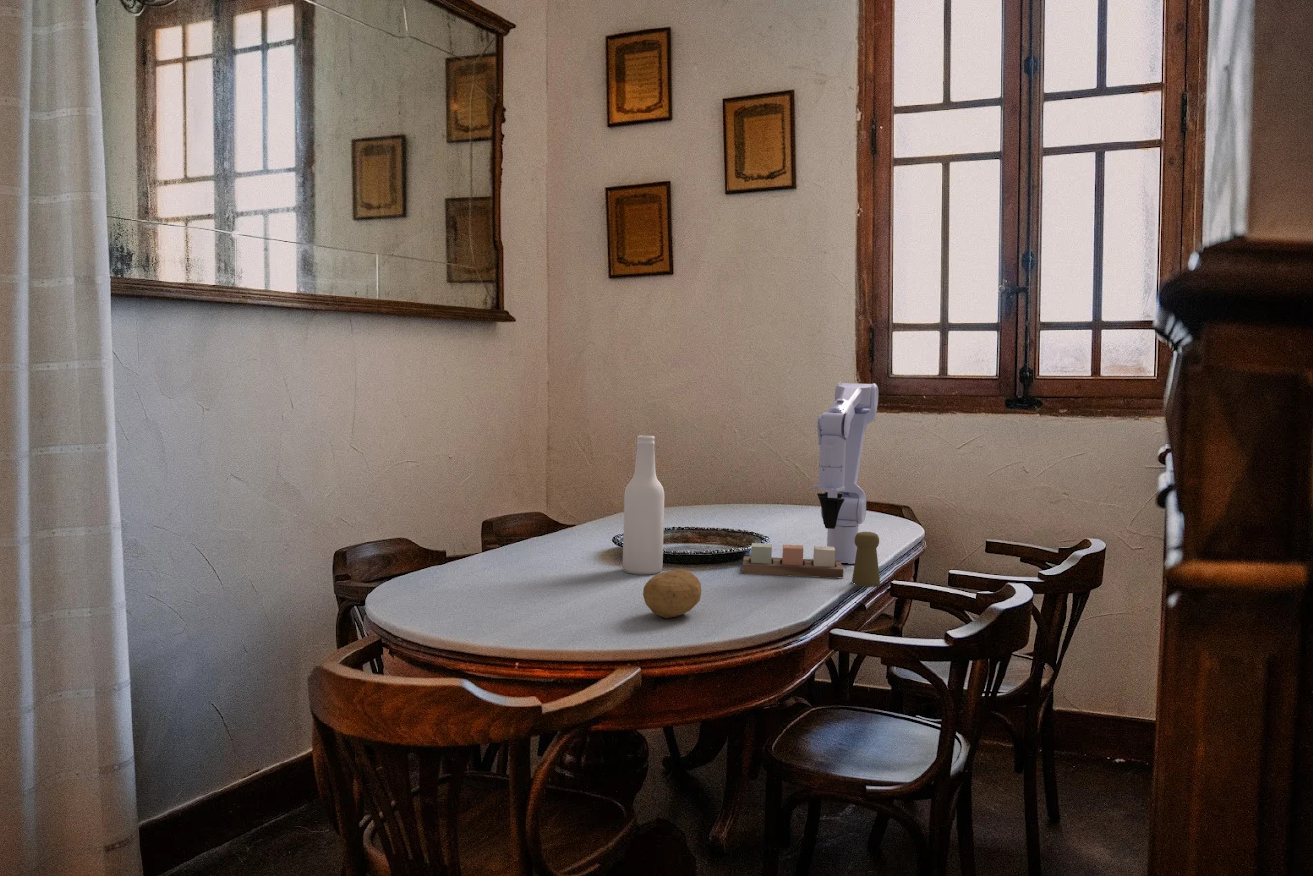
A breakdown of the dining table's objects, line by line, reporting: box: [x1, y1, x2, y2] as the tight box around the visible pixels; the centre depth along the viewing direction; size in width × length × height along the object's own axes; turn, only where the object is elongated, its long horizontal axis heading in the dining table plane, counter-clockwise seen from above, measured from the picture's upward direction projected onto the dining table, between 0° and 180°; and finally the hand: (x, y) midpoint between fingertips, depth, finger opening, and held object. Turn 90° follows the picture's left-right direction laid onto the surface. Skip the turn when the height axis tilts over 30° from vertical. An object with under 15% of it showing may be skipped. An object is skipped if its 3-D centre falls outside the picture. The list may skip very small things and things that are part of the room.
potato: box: [642, 568, 702, 619], centre depth 188 cm, size 10×14×8 cm
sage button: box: [750, 542, 773, 564], centre depth 233 cm, size 4×4×4 cm
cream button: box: [812, 545, 835, 567], centre depth 231 cm, size 4×4×4 cm
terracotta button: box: [781, 544, 804, 565], centre depth 232 cm, size 4×4×4 cm
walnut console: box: [742, 555, 844, 578], centre depth 232 cm, size 10×22×2 cm, turn 84°
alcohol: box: [622, 434, 665, 576], centre depth 227 cm, size 9×9×30 cm
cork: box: [851, 531, 881, 587], centre depth 221 cm, size 6×6×11 cm
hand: (829, 526), depth 231 cm, fingers open, 5 cm apart
